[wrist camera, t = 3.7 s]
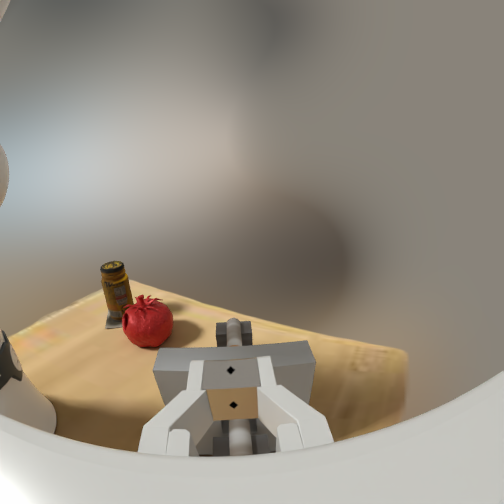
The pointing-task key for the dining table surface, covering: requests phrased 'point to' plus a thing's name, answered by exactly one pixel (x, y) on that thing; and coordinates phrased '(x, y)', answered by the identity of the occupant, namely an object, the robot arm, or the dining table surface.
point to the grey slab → (282, 355)
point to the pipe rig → (238, 428)
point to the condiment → (115, 292)
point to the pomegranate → (147, 322)
